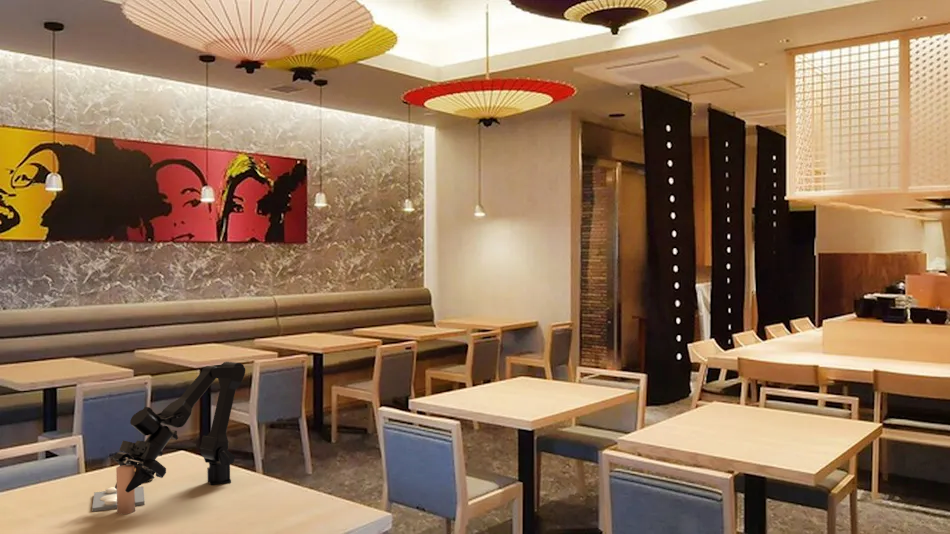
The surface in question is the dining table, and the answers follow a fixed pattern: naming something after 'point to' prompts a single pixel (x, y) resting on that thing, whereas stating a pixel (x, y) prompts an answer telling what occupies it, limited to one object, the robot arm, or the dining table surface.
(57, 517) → the dining table surface
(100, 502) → the board
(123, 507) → the canister
